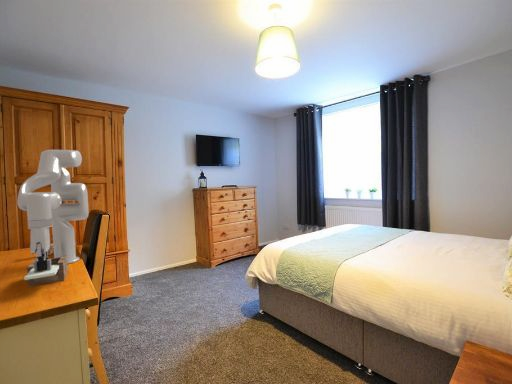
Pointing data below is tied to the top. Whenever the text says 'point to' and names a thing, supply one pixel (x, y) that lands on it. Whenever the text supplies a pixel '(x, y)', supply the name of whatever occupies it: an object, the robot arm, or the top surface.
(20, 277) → the top surface
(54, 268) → the cover plate
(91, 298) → the top surface
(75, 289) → the top surface
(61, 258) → the slide box
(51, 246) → the lion figurine
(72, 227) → the robot arm
